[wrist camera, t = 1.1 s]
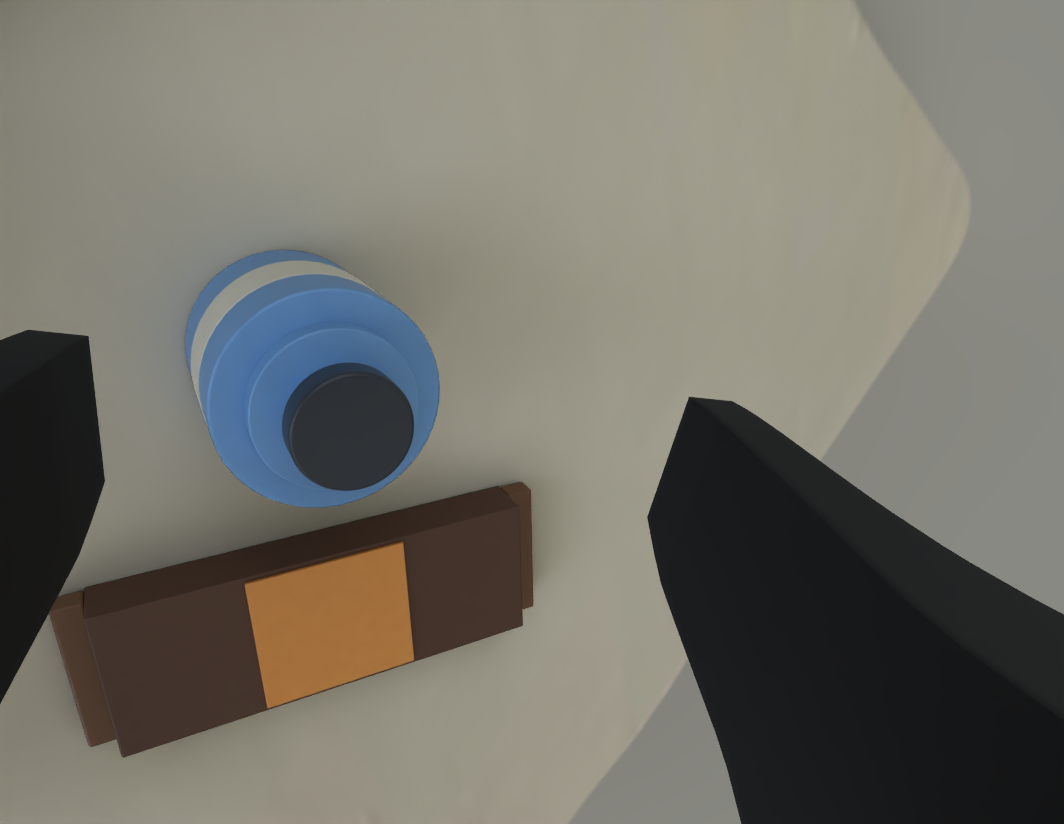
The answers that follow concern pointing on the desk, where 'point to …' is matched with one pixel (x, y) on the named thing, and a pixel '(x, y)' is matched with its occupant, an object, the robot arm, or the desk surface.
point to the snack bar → (292, 616)
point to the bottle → (309, 379)
